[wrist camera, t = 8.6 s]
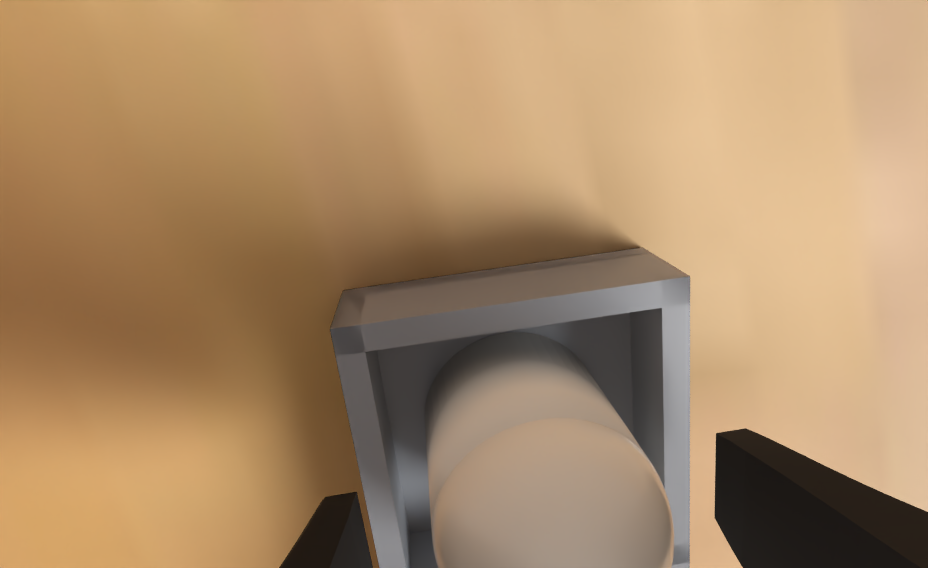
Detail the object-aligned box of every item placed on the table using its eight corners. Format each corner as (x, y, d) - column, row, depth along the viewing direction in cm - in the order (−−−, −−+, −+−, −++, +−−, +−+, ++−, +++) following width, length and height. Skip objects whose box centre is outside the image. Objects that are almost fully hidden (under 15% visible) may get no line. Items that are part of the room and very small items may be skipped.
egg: (437, 499, 15) (457, 751, 9) (412, 347, 14) (417, 529, 8) (600, 472, 15) (722, 701, 9) (591, 319, 14) (727, 476, 8)
